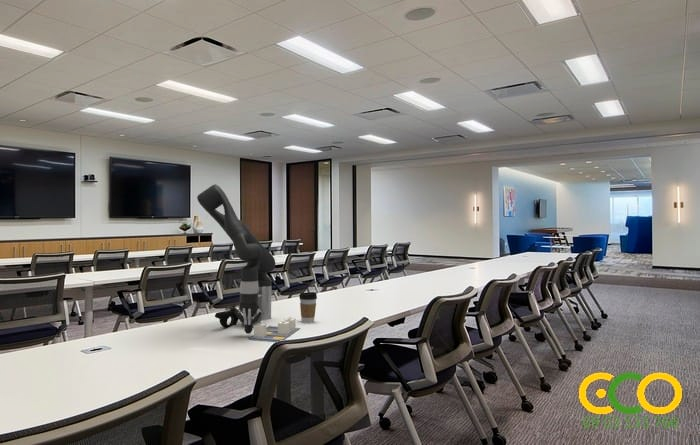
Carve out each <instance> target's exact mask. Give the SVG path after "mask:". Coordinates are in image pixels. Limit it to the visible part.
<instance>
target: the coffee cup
mask: <svg viewBox="0 0 700 445" xmlns="http://www.w3.org/2000/svg"><path fill="white" fill-rule="evenodd" d="M317 296H318V294H317V292H313V291H311V292H309V291H308V292H300V294H299V300H300V301H299V308H300V318H301V323H304V324H312V323H313V324H314V323H315V315H316V308H317V307H316V306H317V299H318V297H317Z"/></svg>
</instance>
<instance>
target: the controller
mask: <svg viewBox="0 0 700 445" xmlns="http://www.w3.org/2000/svg"><path fill="white" fill-rule="evenodd" d="M236 306H237V305H236V304H231V308H230V309H226V310H224V311H217V312H216V313H214V314H215V315H214V318H215V319H219V324H220V326H221V327H223V328H225V329H229V328H231V327H234V326H236V325H237V323H238V322H239V319H238V317H237V316H236V314H235V313H234V311H235V310H237V309H238V308H236ZM229 318H230V322H229V324H228V320H229Z"/></svg>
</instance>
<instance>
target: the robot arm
mask: <svg viewBox="0 0 700 445" xmlns="http://www.w3.org/2000/svg"><path fill="white" fill-rule="evenodd" d="M196 199H197V202H198V203H199V205H200V206H201V207H202V208H203V209H204V210H205V211H206V212H207V213H208V214H209V215H210V217H211V218H212V219H214V221H215V222H216V223H217V224H218V225H219V226H220V227H221V228H222V230H223V231H224V232H225V233H226V235H227V236H228V237H229V238H230V240H231V241H232V243H233V247H234V250H235V254H236V256H237V258H239V259H240V260H241V261H243V262H247V263H246V265H244V266H243V267H242V268H241V270H240V285H239V305H238V308H236V309H237V310H235V311H234V313H235V314H236V316H237V317H238V321H239V322H240V323H241V324H242V323H244V324H245V328H244V332H245V334H247V335H249V334H251V333H252V332H253V328H252V325H253V324H254V323H256V322H257V321H258V320H259V318H260V319H261V322H262V321H266V320H271V319H272V283H273V282H272V279H271V278H270V277H269V276H268V275H267V273H271V272H272V271H273V270H275V267H276V259H275V257H274V256H273V255H272V253H271V252H269V251H268V250H267V248H266V247H264V245H262V243H261V242H260V241H259V240H258V239H257V237H256V236H255V235H254V234H253V232H252V231H251V230H250V229H249V227H248V226H247V225H246V223H245V222H244V221H242V220H241V219H239V218H238V215H237V214H236V212H235V210H234V208H233V206H232V204H231V202H230V201H229V198H228V197H227V195H226V193H225V192H224V190H223V189H222V188H221V187H220V186H219V185H217V184H216V183H215V184H212V185H210V186H209V187H208V188H206V189H205V190H204V191H201V193H199V194H198V195H197V197H196ZM221 206H222V207H223V210H224V214H223V213H222V212H220V211H218V210H217V209H218V208H219V207H221ZM258 294H260V295H262V302H261V308H260V309H259V306H258ZM256 312H257V316H256V317H255V318H254V315H255V314H256ZM253 319H254V320H253Z"/></svg>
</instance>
